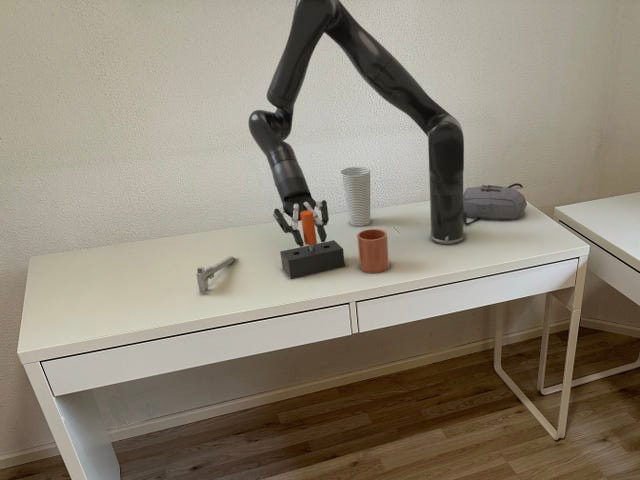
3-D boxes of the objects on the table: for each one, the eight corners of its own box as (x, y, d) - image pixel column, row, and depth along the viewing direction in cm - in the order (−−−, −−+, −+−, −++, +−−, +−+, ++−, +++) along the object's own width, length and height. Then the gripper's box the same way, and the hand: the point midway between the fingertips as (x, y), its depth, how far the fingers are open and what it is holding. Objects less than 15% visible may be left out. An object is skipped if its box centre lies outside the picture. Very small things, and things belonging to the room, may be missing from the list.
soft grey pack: (458, 220, 204) (524, 224, 202) (458, 193, 199) (526, 197, 197) (466, 203, 216) (528, 206, 214) (466, 177, 212) (529, 180, 210)
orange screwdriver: (312, 264, 177) (305, 209, 168) (322, 266, 176) (315, 211, 167) (305, 269, 174) (297, 213, 166) (315, 271, 173) (308, 215, 165)
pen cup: (369, 259, 180) (367, 227, 175) (394, 264, 177) (392, 231, 172) (354, 270, 174) (351, 237, 169) (379, 275, 172) (377, 242, 167)
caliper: (204, 294, 162) (199, 271, 158) (200, 294, 162) (194, 270, 159) (235, 259, 179) (231, 237, 176) (231, 259, 179) (227, 236, 176)
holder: (282, 269, 174) (279, 251, 171) (335, 257, 181) (333, 240, 178) (290, 278, 169) (288, 260, 167) (345, 266, 176) (343, 248, 173)
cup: (350, 216, 206) (345, 166, 197) (377, 218, 205) (373, 167, 196) (342, 227, 199) (336, 175, 190) (370, 228, 198) (365, 176, 189)
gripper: (264, 180, 165) (286, 242, 163) (320, 171, 171) (342, 231, 169) (261, 194, 172) (283, 255, 170) (315, 185, 178) (337, 243, 176)
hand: (312, 242), depth 170 cm, fingers open, 5 cm apart
